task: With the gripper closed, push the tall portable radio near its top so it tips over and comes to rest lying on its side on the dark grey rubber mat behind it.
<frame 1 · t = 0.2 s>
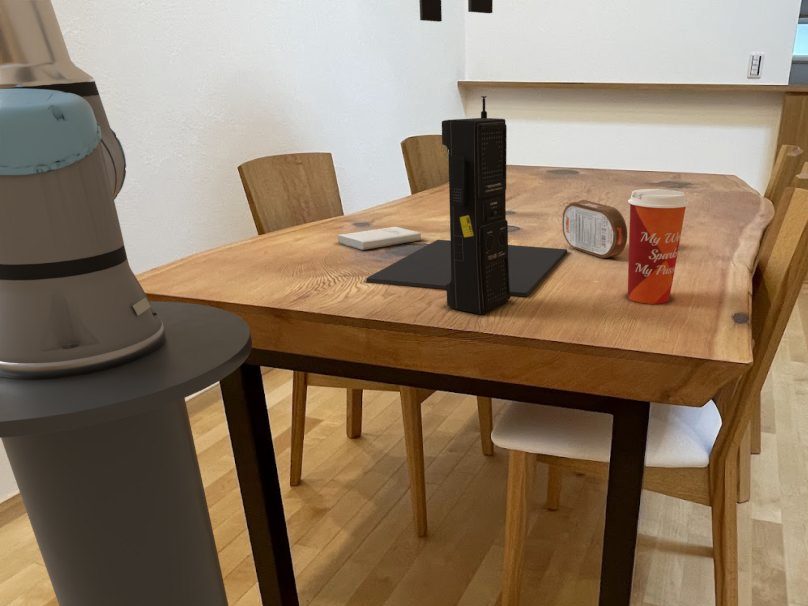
hand: (454, 17, 80), 34 cm above the table, tool pointing down, fingers open, 13 cm apart
tin: (590, 254, 114), on the table
mat: (475, 266, 105), on the table
paper cup: (648, 299, 90), on the table
hard drive: (380, 243, 120), on the table
portable radio: (477, 307, 86), on the table
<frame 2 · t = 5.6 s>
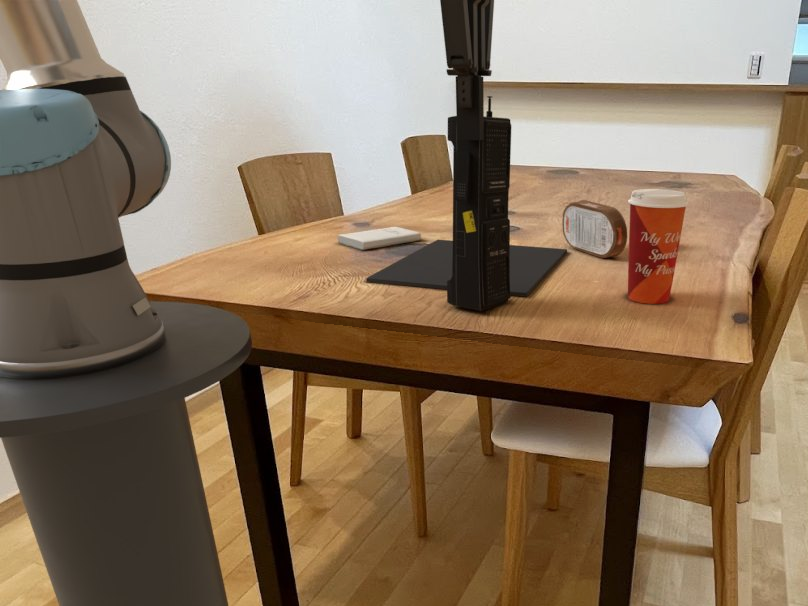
hand: (470, 139, 75), 21 cm above the table, tool pointing down, fingers closed
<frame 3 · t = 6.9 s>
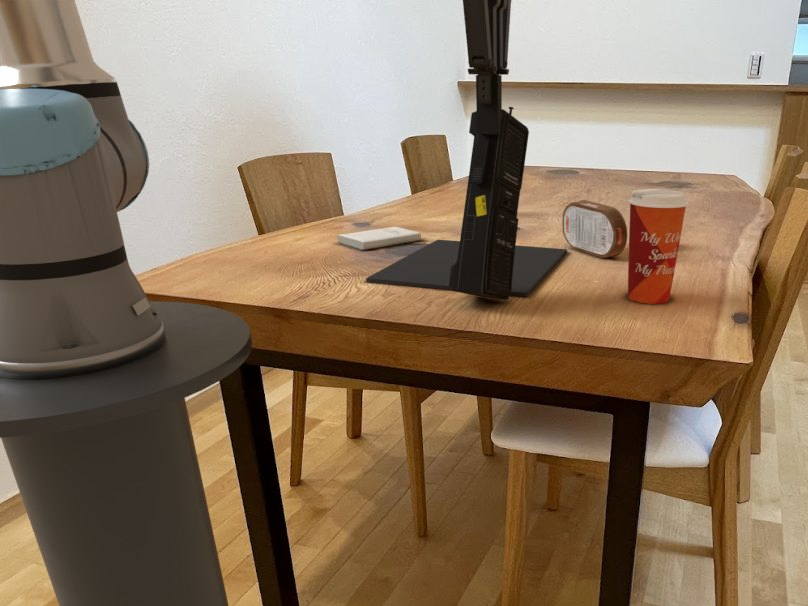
hand: (489, 133, 81), 21 cm above the table, tool pointing down, fingers closed
portable radio: (478, 296, 85), point 1 cm above the table, touching gripper
everything else where it was.
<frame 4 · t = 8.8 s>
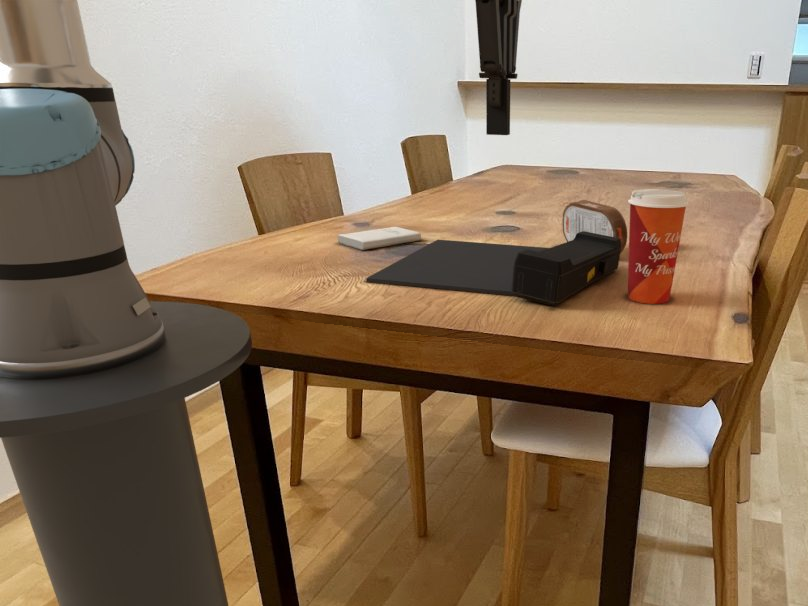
hand: (498, 134, 85), 20 cm above the table, tool pointing down, fingers closed
portable radio: (538, 281, 85), point 3 cm above the table, touching mat
everything else where it was.
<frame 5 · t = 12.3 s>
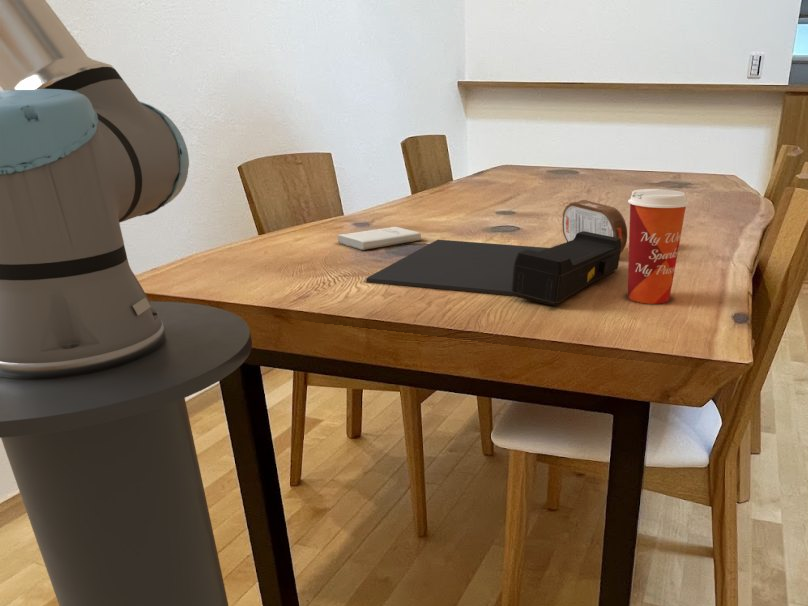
nothing on the table moved.
at the end: portable radio tilted 92°; portable radio touching mat, table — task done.
